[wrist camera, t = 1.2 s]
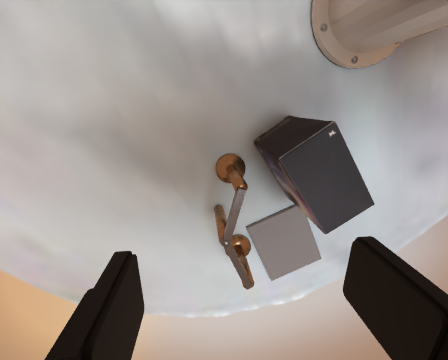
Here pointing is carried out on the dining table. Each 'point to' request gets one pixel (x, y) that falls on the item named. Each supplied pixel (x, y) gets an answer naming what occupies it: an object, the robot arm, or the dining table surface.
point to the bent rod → (234, 217)
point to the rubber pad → (284, 241)
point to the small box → (315, 170)
